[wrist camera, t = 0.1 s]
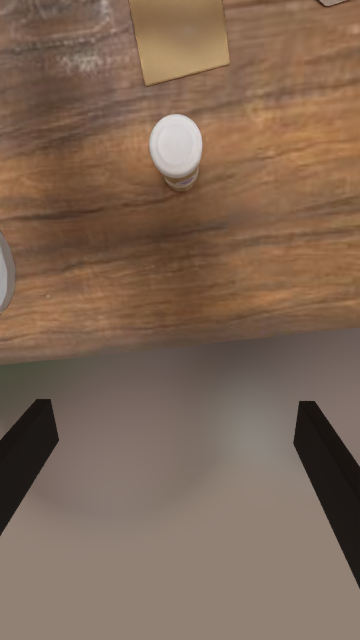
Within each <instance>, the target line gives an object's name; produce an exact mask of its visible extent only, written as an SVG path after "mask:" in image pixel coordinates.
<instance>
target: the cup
mask: <svg viewBox="0 0 360 640" xmlns="http://www.w3.org/2000/svg"><path fill="white" fill-rule="evenodd" d="M319 1H320V2H322V3H323V4H324V5H325V6H331V5H334V4H337V3H340V2H343V1H346V0H319Z"/></svg>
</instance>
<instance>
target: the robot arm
mask: <svg viewBox="0 0 360 640" xmlns="http://www.w3.org/2000/svg"><path fill="white" fill-rule="evenodd" d="M58 441H59V438H58V433H57V428H56V423H55V418H54V414H53V409H52V404H51V399H36V401H35V402H34V403H33V404H32V405H31V406H30V407H29V408H28V409H27V411H26V412H25V413H24V414H23V415H22V416H21V418H20V419H19V420H18V421H17V422H16V423H15V424H14V425H13V426H12V428H11V429H10V430H9V431H8V432H7V433H6V435H4V437H3V438H2V439H1V440H0V535H1V534H2V532H3V531H4V529H5V527H6V526H7V524H8V522H9V521H10V519H11V518H12V516H13V514H14V513H15V511H16V509H17V508H18V506H19V505H20V503H21V501H22V500H23V498H24V496H25V495H26V493H27V492H28V490H29V488H30V487H31V485H32V483H33V482H34V480H35V479H36V477H37V475H38V474H39V472H40V470H41V469H42V467H43V466H44V464H45V462H46V460H47V459H48V457H49V456H50V454H51V453H52V451H53V449H54V448H55V446H56V444H57V443H58ZM293 444H294V446H295V448H296V451H297V452H298V455H299V457H300V459H301V462H302V464H303V466H304V468H305V470H306V472H307V475H308V477H309V479H310V481H311V483H312V486H313V488H314V490H315V492H316V494H317V496H318V499H319V501H320V503H321V505H322V507H323V510H324V512H325V514H326V516H327V518H328V520H329V523H330V525H331V527H332V529H333V531H334V534H335V536H336V538H337V540H338V542H339V545H340V547H341V549H342V551H343V553H344V555H345V558H346V560H347V561H348V564H349V566H350V568H351V571H352V573H353V575H354V577H355V579H356V582H357V584H358V586H359V588H360V467H359V465H358V464H357V462H356V461H355V459H354V458H353V456H352V455H351V453H350V452H349V451H348V449H347V448H346V446H345V445H344V443H343V442H342V440H341V439H340V437H339V436H338V435H337V433H336V432H335V430H334V429H333V427H332V426H331V424H330V423H329V421H328V420H327V419H326V417H325V416H324V414H323V413H322V411H321V410H320V408H319V407H318V405H317V404H316V403H315V401H299V407H298V414H297V421H296V428H295V435H294V442H293Z"/></svg>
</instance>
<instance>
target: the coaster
mask: <svg viewBox="0 0 360 640" xmlns="http://www.w3.org/2000/svg"><path fill="white" fill-rule="evenodd" d="M129 5H130V10H131V15H132V20H133V25H134V30H135V36H136V41H137V46H138V51H139V56H140V61H141V66H142V71H143V76H144V82H145V86H146V87H148V86H151V85H155V84H159V83H163V82H166V81H170V80H174V79H178V78H181V77H185V76H189V75H193V74H196V73H200V72H204V71H208V70H211V69H215V68H219V67H223V66H227V65H229V64H230V60H229V51H228V42H227V33H226V24H225V15H224V7H223V0H129Z"/></svg>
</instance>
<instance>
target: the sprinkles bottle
mask: <svg viewBox="0 0 360 640" xmlns="http://www.w3.org/2000/svg"><path fill="white" fill-rule="evenodd" d="M149 149H150V154H151V157H152V160H153V162H154V164H155V166H156V167H157V169H158V170H159V171H160V172H161V173H162V174H163V177H164V179H165V181H166V183H167V184H168V186H169V187H170V188H172V189H173V190H175V191H187V190H189V189H190V188H191V187H192V186H193V185H194V184H195V183H196V181H197V178H198V170H199V162H200V159H201V155H202V137H201V134H200V131H199V129H198V127H197V126H196V124H195V123H194V122H193V121H192V120H191V119H189V118H188V117H186V116H183V115H179V114H172V115H168V116H166V117H164V118H162V119H161V120H160V121H159V122H158V123H157V124H156V125H155V127H154V128H153V130H152V133H151V136H150V141H149Z"/></svg>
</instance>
